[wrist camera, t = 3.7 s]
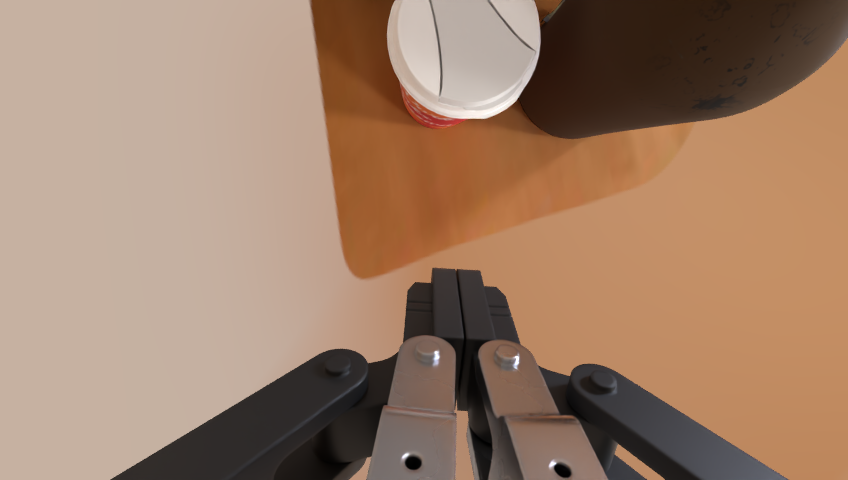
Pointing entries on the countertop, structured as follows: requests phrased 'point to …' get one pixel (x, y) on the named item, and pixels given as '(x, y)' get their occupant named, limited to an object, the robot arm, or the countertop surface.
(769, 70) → the brown bottle
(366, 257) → the countertop surface
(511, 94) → the paper cup
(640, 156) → the countertop surface
